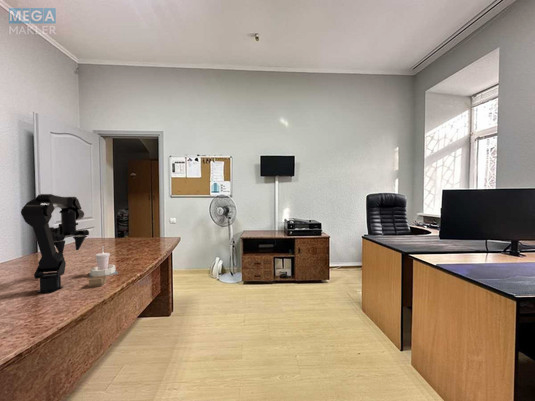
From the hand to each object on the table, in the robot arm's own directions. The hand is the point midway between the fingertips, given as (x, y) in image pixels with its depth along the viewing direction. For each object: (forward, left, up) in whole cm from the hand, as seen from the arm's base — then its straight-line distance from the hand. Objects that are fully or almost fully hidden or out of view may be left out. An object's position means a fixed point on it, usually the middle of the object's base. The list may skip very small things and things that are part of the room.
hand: (69, 252), depth 120 cm
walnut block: (-10, -23, -13) cm, 28 cm away
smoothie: (+6, -13, -12) cm, 19 cm away
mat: (+6, -13, -13) cm, 19 cm away
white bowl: (+6, -13, -13) cm, 19 cm away
